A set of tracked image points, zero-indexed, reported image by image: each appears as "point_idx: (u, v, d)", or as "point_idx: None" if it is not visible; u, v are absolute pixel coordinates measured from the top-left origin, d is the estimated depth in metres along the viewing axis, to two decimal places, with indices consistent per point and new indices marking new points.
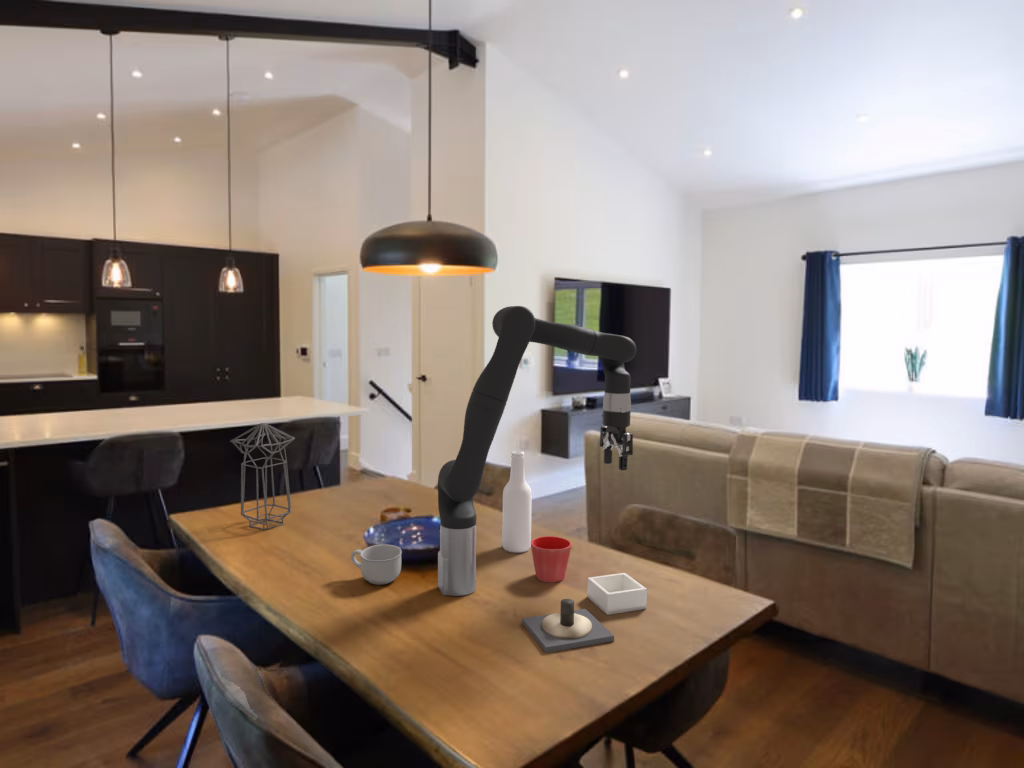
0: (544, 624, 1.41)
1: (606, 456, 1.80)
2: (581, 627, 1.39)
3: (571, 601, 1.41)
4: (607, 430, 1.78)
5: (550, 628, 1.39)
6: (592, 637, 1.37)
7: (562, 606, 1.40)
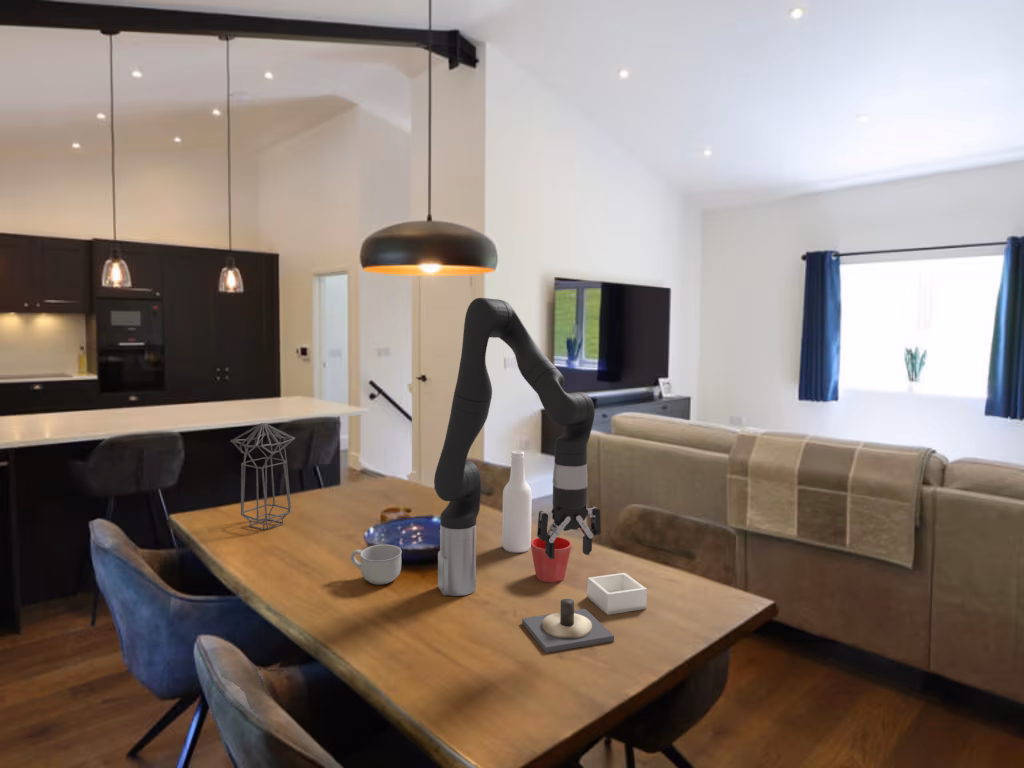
0: (544, 624, 1.41)
1: None
2: (581, 627, 1.39)
3: (571, 601, 1.41)
4: (559, 515, 1.37)
5: (550, 628, 1.39)
6: (592, 637, 1.37)
7: (562, 606, 1.40)
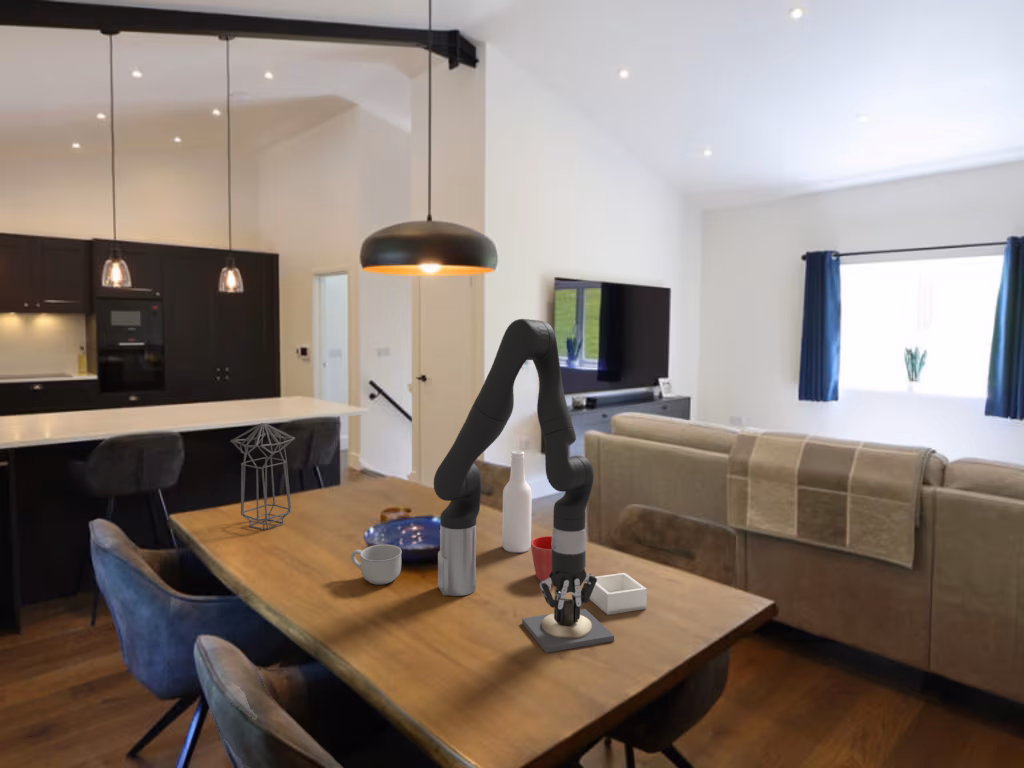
0: (544, 624, 1.41)
1: None
2: (581, 627, 1.40)
3: (571, 601, 1.41)
4: (557, 578, 1.38)
5: (550, 628, 1.39)
6: (592, 637, 1.37)
7: None
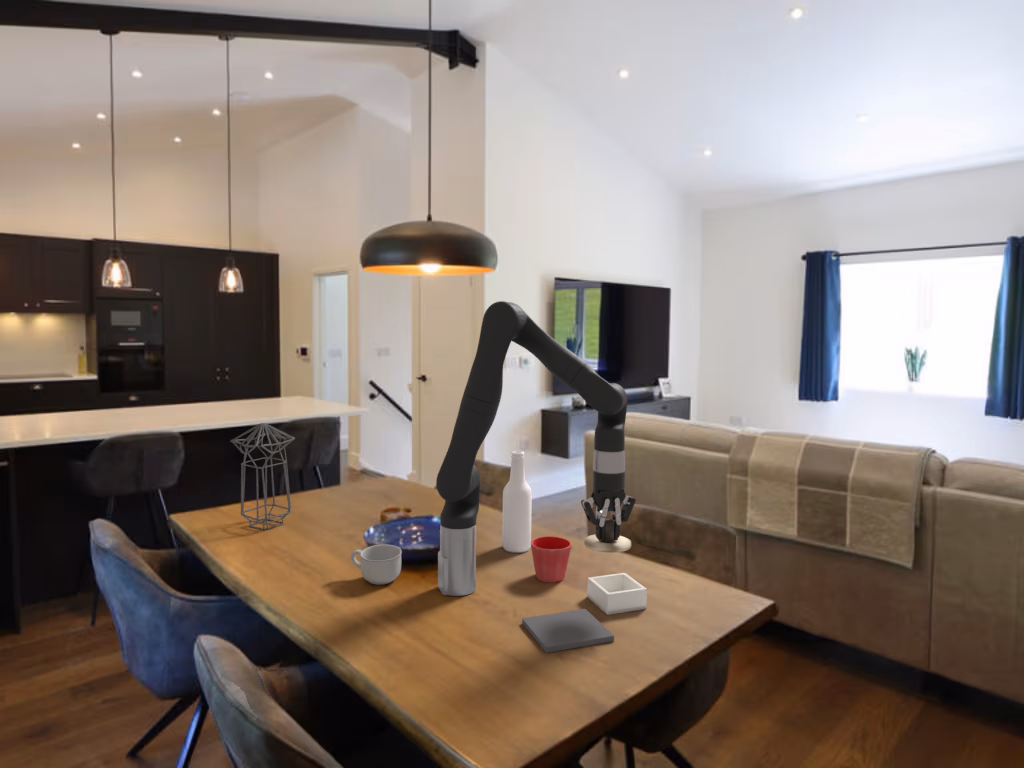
0: (586, 541, 1.50)
1: None
2: (622, 544, 1.49)
3: (611, 520, 1.50)
4: (599, 497, 1.48)
5: (592, 544, 1.48)
6: (592, 637, 1.37)
7: None
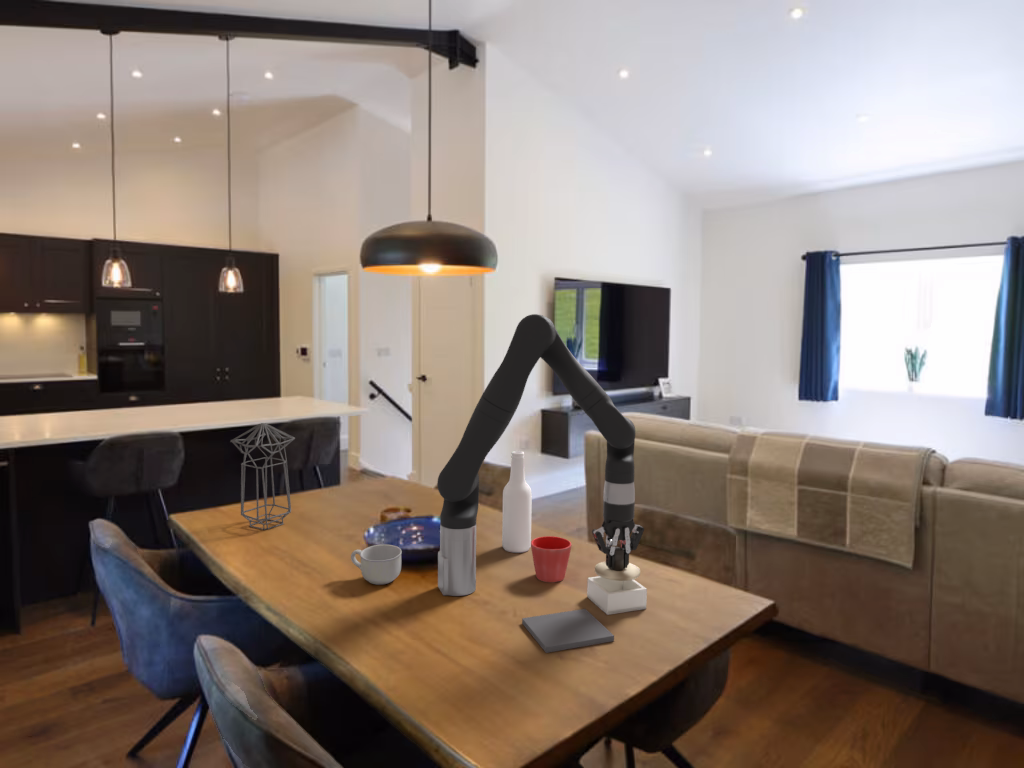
0: (597, 569, 1.55)
1: None
2: (631, 571, 1.54)
3: (621, 549, 1.56)
4: (609, 527, 1.53)
5: (603, 572, 1.54)
6: (592, 637, 1.37)
7: None
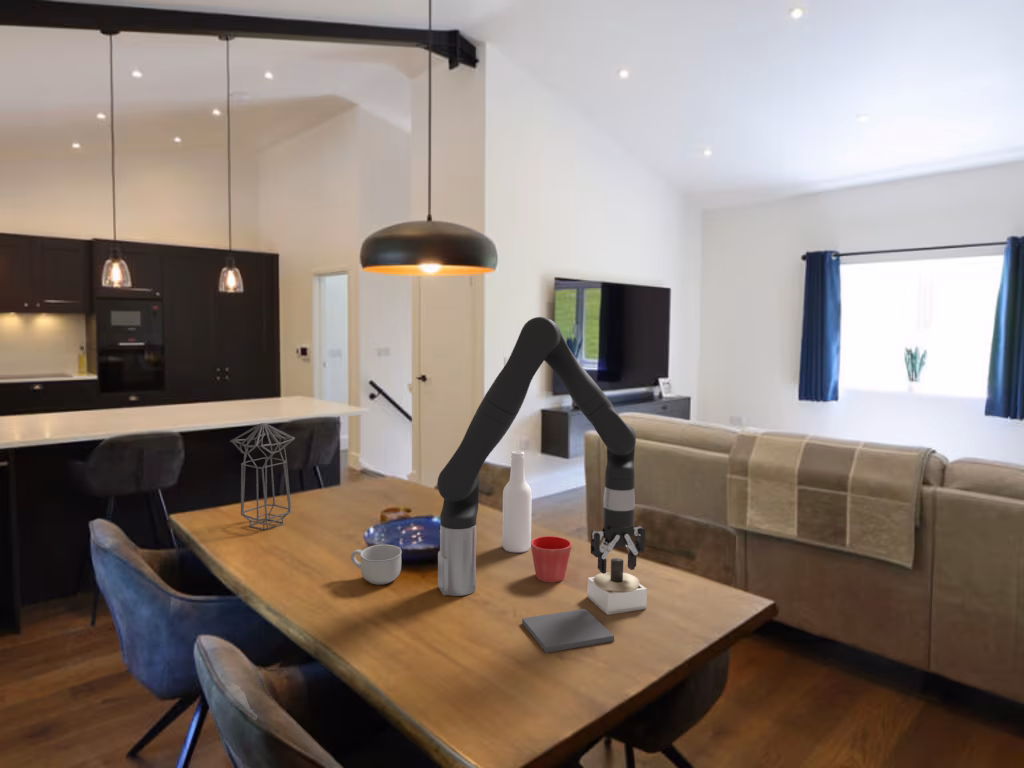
0: (596, 581, 1.56)
1: None
2: (630, 583, 1.55)
3: (620, 560, 1.56)
4: (609, 533, 1.53)
5: (602, 584, 1.54)
6: (592, 637, 1.37)
7: (613, 564, 1.55)
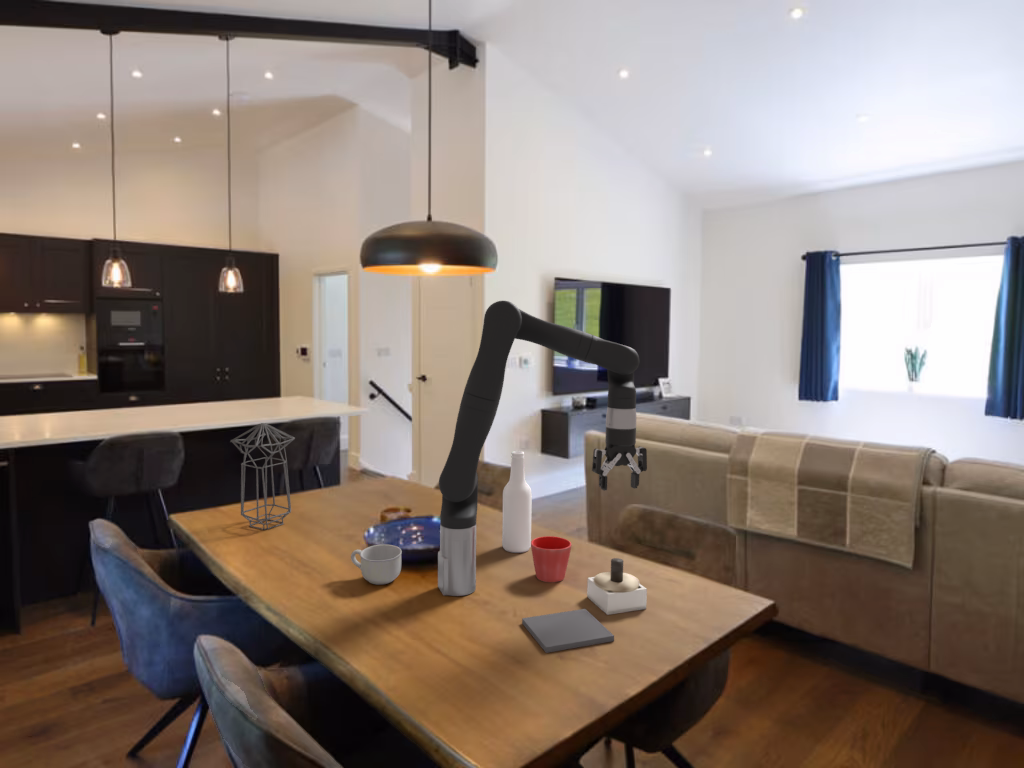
0: (596, 581, 1.56)
1: None
2: (630, 583, 1.55)
3: (620, 560, 1.56)
4: (611, 452, 1.58)
5: (602, 584, 1.54)
6: (592, 637, 1.37)
7: (613, 564, 1.55)
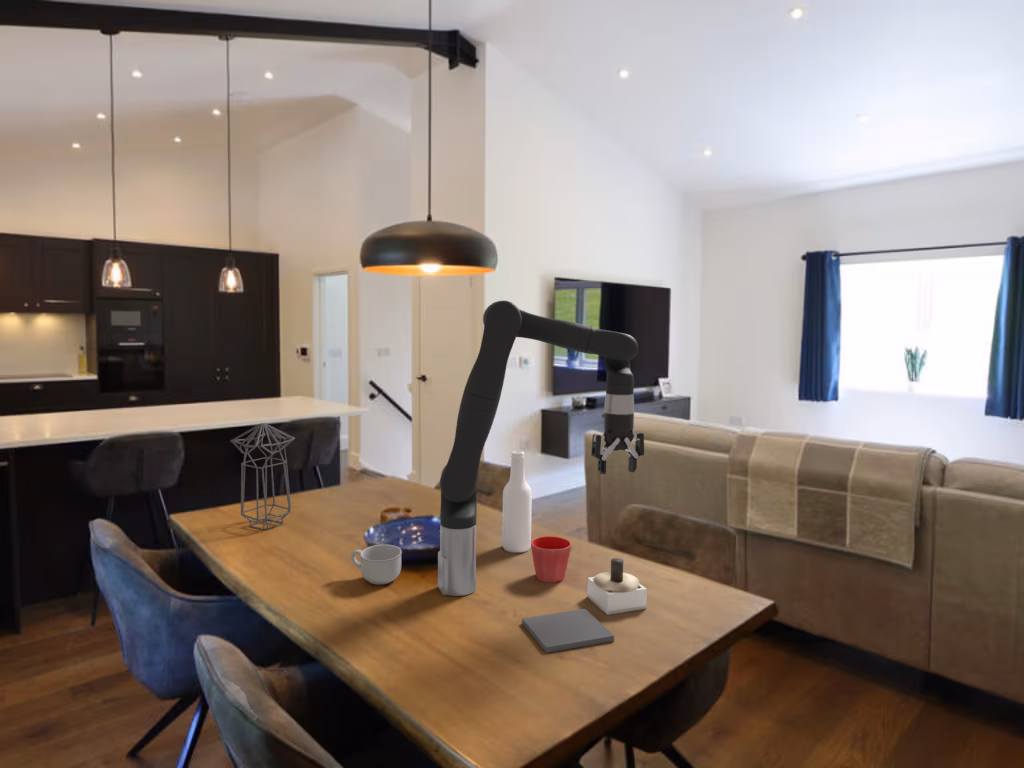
0: (596, 581, 1.56)
1: None
2: (630, 583, 1.55)
3: (620, 560, 1.56)
4: (610, 437, 1.63)
5: (602, 584, 1.54)
6: (592, 637, 1.37)
7: (613, 564, 1.55)
